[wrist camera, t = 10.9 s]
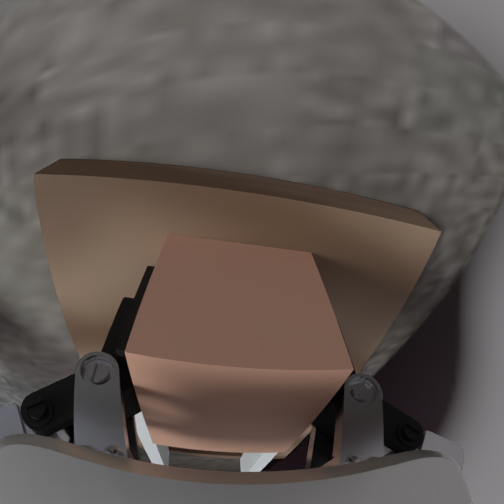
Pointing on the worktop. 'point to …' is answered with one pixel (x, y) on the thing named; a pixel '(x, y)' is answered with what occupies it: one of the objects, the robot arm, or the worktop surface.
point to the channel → (161, 452)
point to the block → (234, 347)
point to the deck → (224, 229)
